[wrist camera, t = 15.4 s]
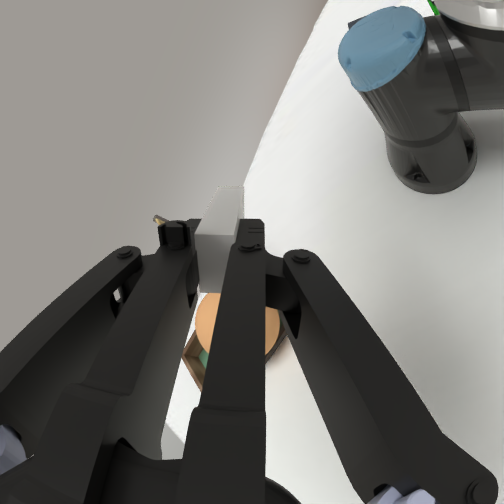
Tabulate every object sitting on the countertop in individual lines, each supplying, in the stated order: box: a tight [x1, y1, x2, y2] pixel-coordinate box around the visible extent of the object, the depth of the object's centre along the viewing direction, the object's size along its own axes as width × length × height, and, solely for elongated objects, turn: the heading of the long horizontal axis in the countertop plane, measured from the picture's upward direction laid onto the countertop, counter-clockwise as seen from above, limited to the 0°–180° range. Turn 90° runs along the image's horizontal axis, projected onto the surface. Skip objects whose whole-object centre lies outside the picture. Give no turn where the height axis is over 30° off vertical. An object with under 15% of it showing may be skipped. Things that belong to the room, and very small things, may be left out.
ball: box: [195, 293, 280, 355], centre depth 43 cm, size 13×13×13 cm
